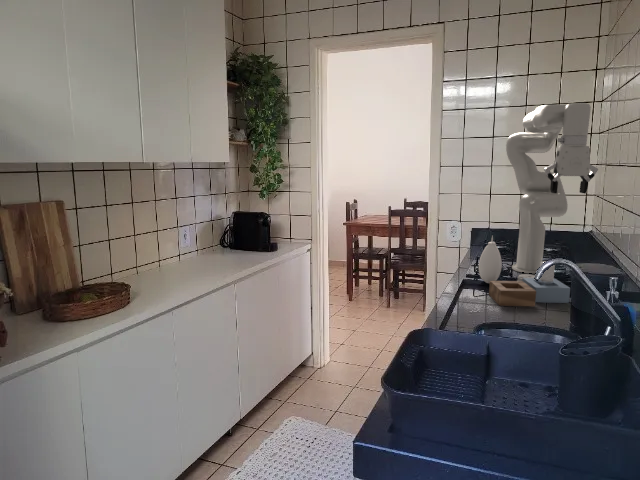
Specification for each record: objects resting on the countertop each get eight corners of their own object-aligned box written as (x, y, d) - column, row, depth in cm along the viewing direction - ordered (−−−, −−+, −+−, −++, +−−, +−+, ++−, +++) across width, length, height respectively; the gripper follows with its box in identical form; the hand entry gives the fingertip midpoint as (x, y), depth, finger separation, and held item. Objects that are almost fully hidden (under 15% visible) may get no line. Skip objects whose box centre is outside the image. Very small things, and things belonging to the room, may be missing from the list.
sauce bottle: (482, 278, 178) (485, 232, 175) (502, 282, 173) (507, 235, 170) (474, 283, 172) (477, 235, 169) (495, 287, 168) (499, 238, 164)
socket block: (521, 291, 162) (522, 278, 161) (553, 292, 162) (554, 278, 161) (534, 302, 152) (535, 287, 151) (568, 302, 151) (570, 288, 150)
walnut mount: (488, 294, 159) (489, 280, 158) (521, 295, 158) (522, 281, 157) (499, 305, 148) (500, 290, 147) (534, 306, 148) (536, 291, 147)
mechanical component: (515, 291, 164) (546, 293, 162) (517, 279, 163) (547, 281, 161) (511, 283, 173) (540, 285, 171) (512, 271, 172) (541, 273, 170)
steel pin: (535, 295, 159) (538, 260, 157) (548, 295, 159) (551, 261, 156) (540, 299, 155) (543, 264, 152) (553, 299, 155) (557, 264, 152)
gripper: (552, 141, 152) (547, 194, 155) (606, 141, 151) (600, 194, 154) (542, 141, 159) (537, 191, 162) (594, 141, 158) (588, 192, 162)
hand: (568, 193), depth 158 cm, fingers open, 9 cm apart
